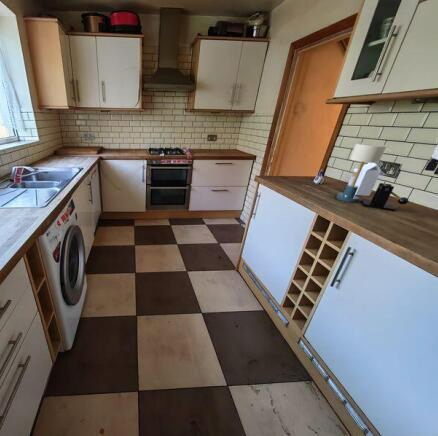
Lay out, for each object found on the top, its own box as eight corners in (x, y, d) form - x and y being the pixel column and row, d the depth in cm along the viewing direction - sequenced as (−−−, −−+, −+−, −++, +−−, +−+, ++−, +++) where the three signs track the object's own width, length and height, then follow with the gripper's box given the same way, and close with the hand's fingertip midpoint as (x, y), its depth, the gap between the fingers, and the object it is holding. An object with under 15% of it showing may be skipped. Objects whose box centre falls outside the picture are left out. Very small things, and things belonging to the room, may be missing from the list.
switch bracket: (388, 205, 122) (400, 184, 116) (394, 211, 115) (406, 189, 110) (360, 201, 127) (369, 180, 122) (363, 206, 120) (373, 184, 115)
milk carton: (355, 195, 136) (369, 163, 128) (349, 191, 143) (362, 161, 135) (369, 196, 135) (384, 164, 127) (362, 192, 141) (376, 162, 133)
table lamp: (358, 198, 131) (382, 144, 118) (362, 204, 122) (389, 147, 109) (332, 194, 137) (353, 142, 124) (335, 200, 128) (357, 144, 115)
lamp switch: (401, 204, 117) (409, 199, 115) (403, 206, 114) (411, 201, 112) (378, 188, 119) (385, 182, 117) (380, 189, 117) (387, 184, 114)
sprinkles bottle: (351, 188, 149) (359, 168, 143) (356, 190, 144) (366, 169, 139) (344, 188, 149) (352, 167, 143) (349, 190, 144) (358, 169, 139)
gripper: (481, 135, 90) (455, 177, 98) (458, 133, 104) (436, 170, 111) (453, 134, 94) (430, 175, 101) (434, 132, 107) (415, 168, 114)
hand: (433, 172), depth 106 cm, fingers open, 9 cm apart
